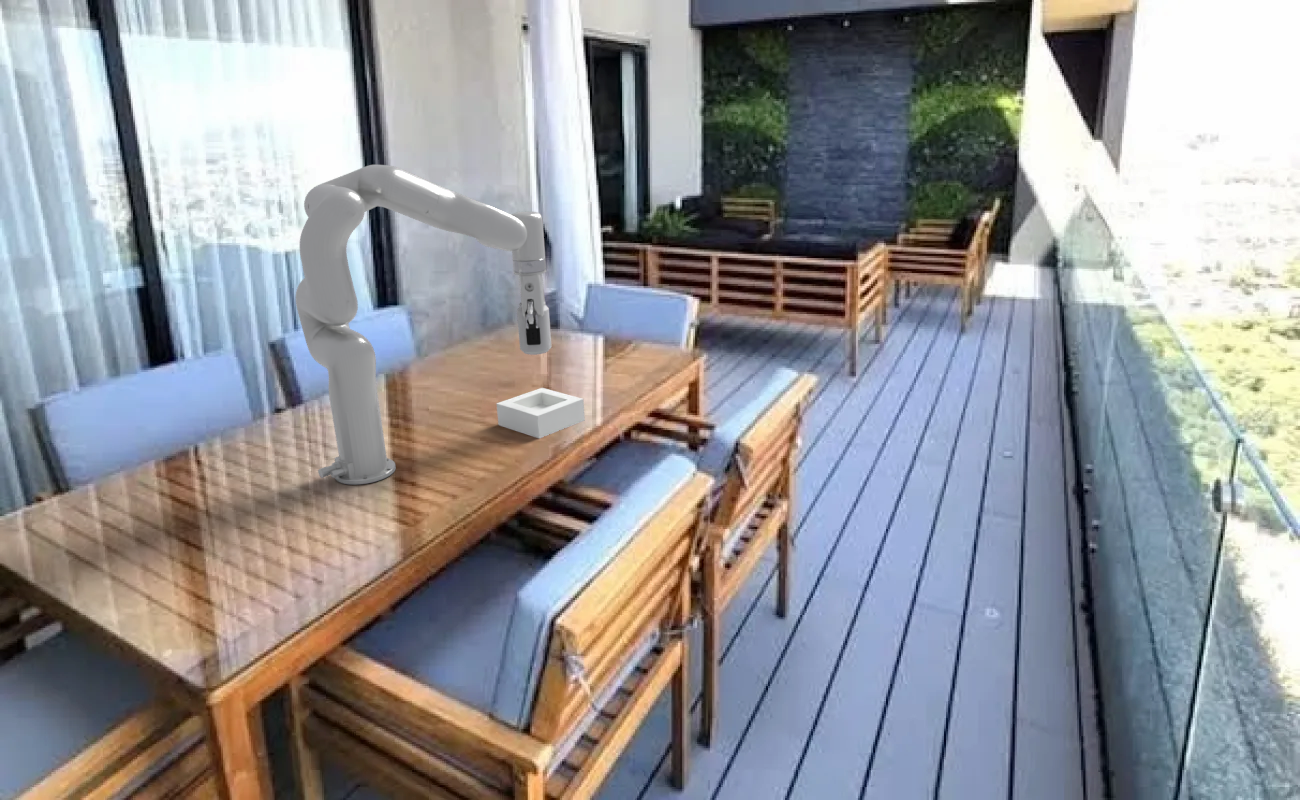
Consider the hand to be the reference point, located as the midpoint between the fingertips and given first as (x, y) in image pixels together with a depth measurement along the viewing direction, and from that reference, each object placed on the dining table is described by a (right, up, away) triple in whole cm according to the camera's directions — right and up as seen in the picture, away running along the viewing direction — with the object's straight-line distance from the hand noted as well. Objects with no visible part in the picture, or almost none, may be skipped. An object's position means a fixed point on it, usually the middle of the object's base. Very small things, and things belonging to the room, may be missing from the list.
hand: (535, 339), depth 200 cm
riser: (+1, -20, +7) cm, 22 cm away
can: (0, -3, +1) cm, 3 cm away
